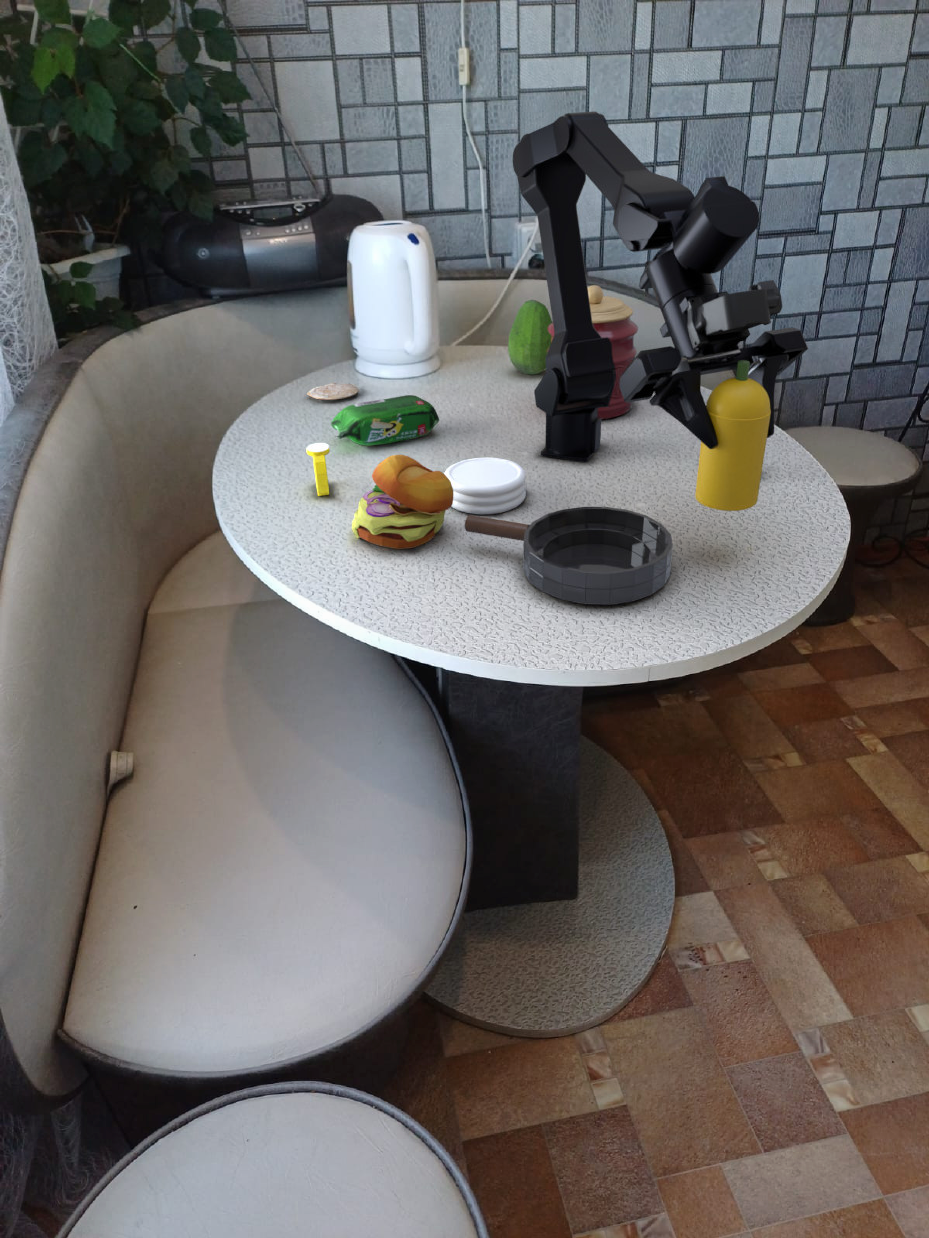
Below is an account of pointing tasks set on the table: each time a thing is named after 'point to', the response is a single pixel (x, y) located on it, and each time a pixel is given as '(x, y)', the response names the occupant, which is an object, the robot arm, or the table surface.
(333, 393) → the flatbread
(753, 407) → the pepper
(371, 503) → the cheeseburger
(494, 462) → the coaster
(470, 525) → the handle
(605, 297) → the kitchen canister
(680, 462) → the table surface
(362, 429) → the snack package
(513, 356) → the avocado
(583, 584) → the dark grey frying pan
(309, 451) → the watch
